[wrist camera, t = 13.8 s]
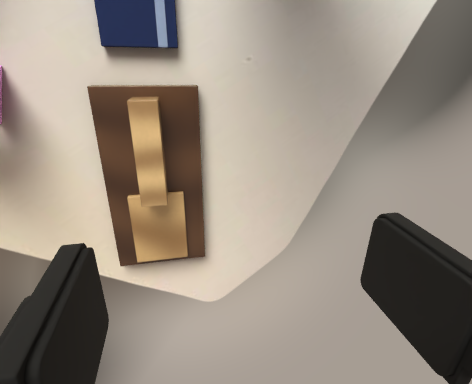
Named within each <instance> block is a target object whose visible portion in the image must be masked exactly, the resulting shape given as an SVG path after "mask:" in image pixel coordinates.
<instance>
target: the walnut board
mask: <svg viewBox="0 0 472 384" xmlns="http://www.w3.org/2000/svg"><path fill="white" fill-rule="evenodd" d="M87 88H88V93H89V99H90V104H91V109H92V115H93V120H94V126H95V131H96V136H97V142H98V147H99V153H100V158H101V164H102V169H103V174H104V180H105V185H106V191H107V196H108V201H109V207H110V212H111V218H112V223H113V228H114V234H115V239H116V245H117V250H118V256H119V261H120V266H127V265H135V264H144V263H152V262H161V261H169V260H178V259H187V258H195V257H204V256H205V245H204V221H203V197H202V173H201V149H200V125H199V101H198V86H197V85H91V86H87ZM131 97H159V105H160V115H161V126H162V136H163V147H164V157H165V168H166V178H167V189H168V192H181V191H183V194H184V208H185V222H186V236H187V250H188V257H180V258H172V259H163V260H155V261H146V262H137V256H136V250H135V244H134V237H133V231H132V224H131V218H130V212H129V205H128V199H127V198H128V195H140V193H139V185H138V178H137V171H136V163H135V156H134V149H133V142H132V134H131V127H130V120H129V112H128V105H127V101H128V100H129V99H130V98H131Z"/></svg>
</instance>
